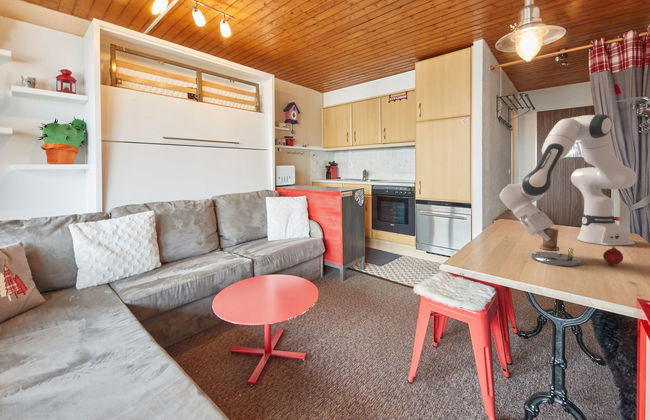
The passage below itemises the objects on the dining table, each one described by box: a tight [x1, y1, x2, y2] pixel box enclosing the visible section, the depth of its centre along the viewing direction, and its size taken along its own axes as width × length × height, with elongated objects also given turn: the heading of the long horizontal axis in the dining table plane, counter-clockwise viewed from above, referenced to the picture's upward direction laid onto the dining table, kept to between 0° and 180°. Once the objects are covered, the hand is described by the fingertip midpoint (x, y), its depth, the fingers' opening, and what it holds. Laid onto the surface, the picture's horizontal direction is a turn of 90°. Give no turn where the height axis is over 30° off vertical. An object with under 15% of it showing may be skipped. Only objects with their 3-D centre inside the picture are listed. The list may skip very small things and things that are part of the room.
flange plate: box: [530, 247, 581, 267], centre depth 130 cm, size 17×17×6 cm
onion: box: [602, 245, 624, 267], centre depth 121 cm, size 6×6×8 cm
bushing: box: [539, 227, 560, 252], centre depth 131 cm, size 7×7×9 cm
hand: (551, 238), depth 130 cm, fingers closed on bushing, 5 cm apart
